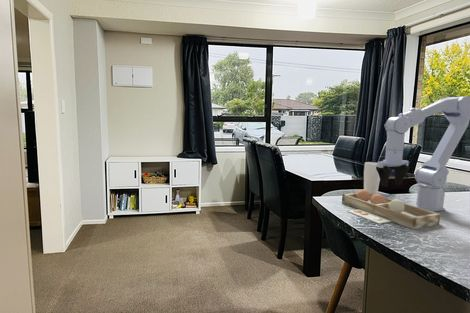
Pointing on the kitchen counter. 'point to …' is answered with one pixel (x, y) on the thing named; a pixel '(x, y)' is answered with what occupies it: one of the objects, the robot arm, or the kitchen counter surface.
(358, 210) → the card
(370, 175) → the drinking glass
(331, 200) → the kitchen counter surface
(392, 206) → the cream ball
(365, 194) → the ball
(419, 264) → the kitchen counter surface
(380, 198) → the terracotta ball
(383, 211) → the two-well rack
